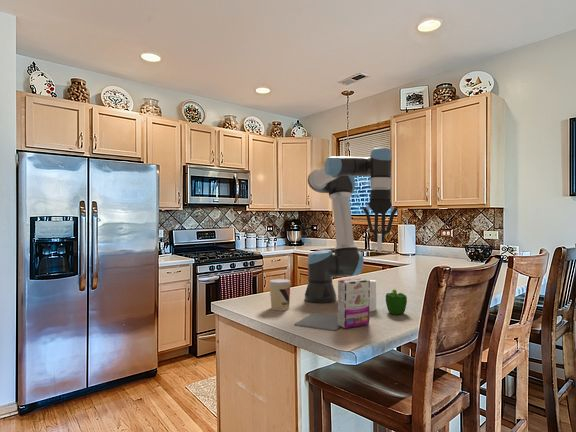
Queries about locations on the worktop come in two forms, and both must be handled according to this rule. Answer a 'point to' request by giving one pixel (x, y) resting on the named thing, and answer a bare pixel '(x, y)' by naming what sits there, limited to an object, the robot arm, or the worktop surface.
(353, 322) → the candy bar box
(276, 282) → the coffee cup
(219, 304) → the worktop surface
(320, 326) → the rubber mat
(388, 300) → the bell pepper
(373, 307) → the base with upright slab
